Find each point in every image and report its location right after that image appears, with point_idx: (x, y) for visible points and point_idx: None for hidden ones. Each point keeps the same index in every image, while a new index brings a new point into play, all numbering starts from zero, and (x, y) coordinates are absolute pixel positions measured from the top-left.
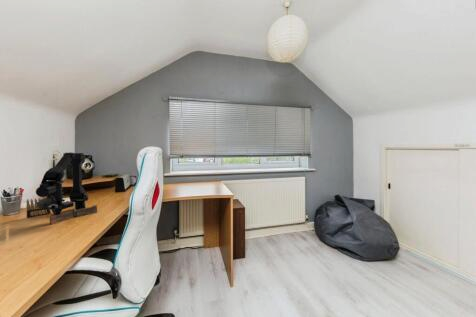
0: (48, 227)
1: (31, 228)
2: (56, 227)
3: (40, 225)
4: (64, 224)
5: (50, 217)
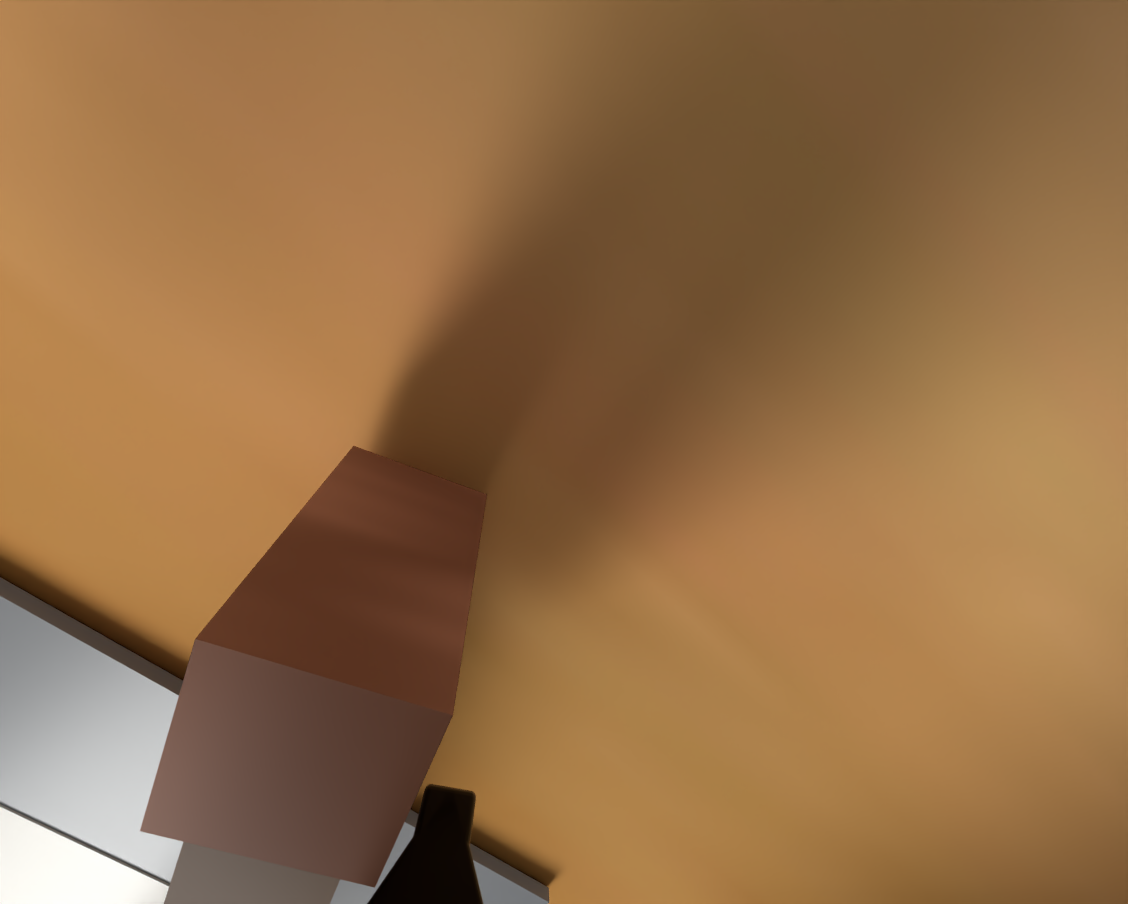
0: (340, 277)
1: (922, 194)
2: (4, 271)
3: (814, 453)
4: (14, 534)
5: (338, 629)
